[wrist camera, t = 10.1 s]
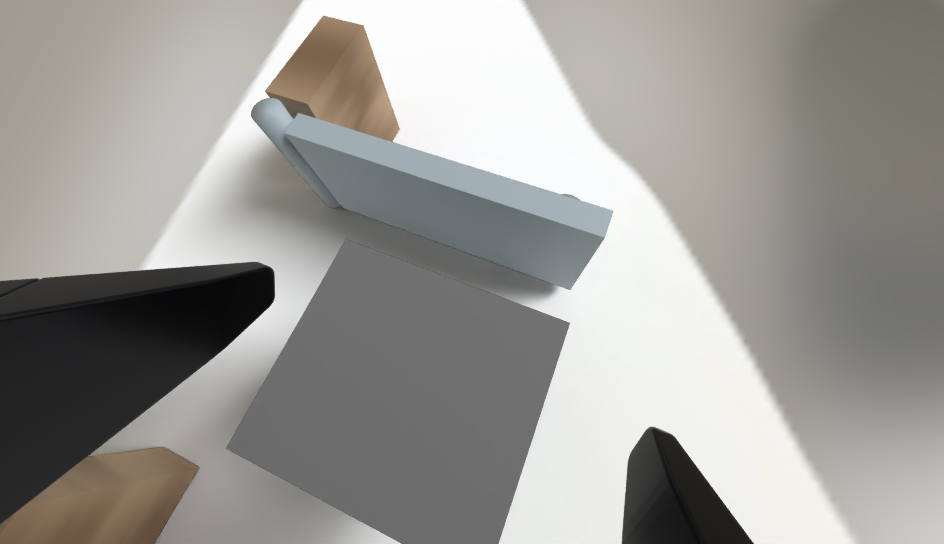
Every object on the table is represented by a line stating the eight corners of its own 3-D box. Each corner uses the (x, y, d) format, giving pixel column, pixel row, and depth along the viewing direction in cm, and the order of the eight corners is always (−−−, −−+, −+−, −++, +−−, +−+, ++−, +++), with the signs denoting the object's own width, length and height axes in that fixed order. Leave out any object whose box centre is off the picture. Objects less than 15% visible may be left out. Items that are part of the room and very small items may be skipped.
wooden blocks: (127, 589, 14) (-133, 720, 8) (89, 563, 14) (-184, 671, 8) (399, 128, 21) (363, 25, 15) (369, 119, 21) (323, 15, 15)
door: (319, 203, 19) (244, 118, 13) (345, 163, 20) (284, 66, 14) (568, 293, 16) (606, 235, 11) (585, 243, 17) (629, 165, 11)
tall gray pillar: (491, 466, 14) (483, 587, 5) (392, 420, 15) (225, 448, 6) (524, 371, 15) (570, 323, 6) (431, 333, 16) (346, 239, 7)
